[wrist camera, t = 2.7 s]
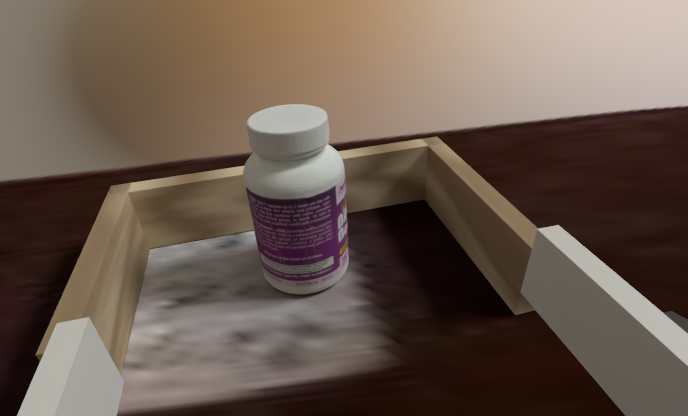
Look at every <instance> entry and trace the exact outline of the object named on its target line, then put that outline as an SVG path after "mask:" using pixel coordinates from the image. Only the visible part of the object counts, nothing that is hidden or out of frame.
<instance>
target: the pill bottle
mask: <svg viewBox="0 0 688 416" xmlns="http://www.w3.org/2000/svg"><path fill="white" fill-rule="evenodd" d="M247 129H248V135H249V142H250V146H251V148H252V149H253V151H254V153H253V154H252V155H251V156H250V157H249V159H248V160H247V162H246V164H245V167H244V171H243V179H244V184H245V189H246V194H247V198H248V203H249V207H250V212H251V217H252V222H253V226H254V231H255V236H256V241H257V246H258V250H259V255H260V260H261V265H262V271H263V274H264V277H265V278H266V280H267V281H268V282H269V283H270V284H271V285H272V286H273V287H275V288H276V289H278V290H281V291H283V292H286V293H290V294H310V293H316V292H319V291H322V290H325V289H327V288H329V287H331V286H332V285H334V284H335V283H336V282H338V281H339V280H340V279H341V277H342V276H343V275H344V273H345V271H346V269H347V267H348V260H349V257H348V231H347V209H346V188H345V170H344V164H343V160H342V158H341V156H340V154H339V153H338V152H337V151H336V150H335V149H334V148H333V147H331V146H330V145H328V141H329V136H330V134H329V125H328V117H327V113H326V112H325V111H324V110H323V109H321V108H318V107H315V106H310V105H303V104H290V105H280V106H275V107H270V108H267V109H264V110H261V111H259V112H257V113H255V114H253V115H252V116H251V117H250V118H249V119H248V121H247Z"/></svg>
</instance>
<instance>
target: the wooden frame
mask: <svg viewBox="0 0 688 416" xmlns="http://www.w3.org/2000/svg"><path fill="white" fill-rule="evenodd" d="M338 153H339V154H340V156H341V158H342V160H343V164H344V170H345V188H346V209H347V213H351V212H357V211H362V210H368V209H374V208H379V207H385V206H390V205H396V204H401V203H407V202H413V201H418V200H425V201H426V202H427V203H428V205H429V206H430V207H431V208H432V210H433V211H434V212H435V214H436V215H437V216H438V217H439V219H440V220H441V221H442V223H443V224H444V225H445V226H446V228H447V229H448V230H449V231H450V233H451V234H452V235H453V237H454V238H455V239H456V240H457V242H458V243H459V244H460V245H461V247H462V248H463V249H464V251H465V252H466V253H467V254H468V256H469V257H470V258H471V259H472V261H473V262H474V263H475V265H476V266H477V267H478V268H479V270H480V271H481V272H482V273H483V275H484V276H485V277H486V279H487V280H488V281H489V282H490V284H491V285H492V286H493V288H494V289H495V290H496V291H497V293H498V294H499V295H500V296H501V298H502V299H503V300H504V302H505V303H506V304H507V305H508V307H509V308H510V309H511V310H512V312H513V313H514V314H515V315H518V314H522V313H526V312H530V311H534V310H535V309H534V308H533V306H532V305H531V304H530V303H529V302H528V301H527V299H526V298H525V297H524V296H523V295H522V294H521V288H522V284H523V280H524V277H525V273H526V269H527V265H528V262H529V258H530V254H531V251H532V247H533V243H534V239H535V236H536V232H537V229H538V228H537V227H536V226H535V225H534V224H532V223H531V222H530V221H529V220H528V219H527V218H526V217H525V216H524V215H523V214H521V213H520V212H519V211H518V210H517V209H516V208H515V207H514V206H513V205H512V204H510V203H509V202H508V201H507V200H506V199H505V198H504V197H503V196H502V195H501V194H499V193H498V192H497V191H496V190H495V189H494V188H493V187H492V186H491V185H490V184H488V183H487V182H486V181H485V180H484V179H483V178H482V177H481V176H480V175H479V174H477V173H476V172H475V171H474V170H473V169H472V168H471V167H470V166H469V165H468V164H466V163H465V162H464V161H463V160H462V159H461V158H460V157H459V156H458V155H457V154H455V153H454V152H453V151H452V150H451V149H450V148H449V147H448V146H447V145H446V144H445V143H443V142H442V141H441V140H440V139H439V138H438V137H431V138H424V139H418V140H411V141H405V142H398V143H392V144H385V145H378V146H372V147H365V148H359V149H352V150H345V151H339V152H338ZM244 167H245V166H240V167H233V168H227V169H220V170H214V171H207V172H200V173H194V174H187V175H181V176H174V177H168V178H161V179H154V180H148V181H141V182H135V183H128V184H121V185H115V186H111V187H110V189H109V192H108V194H107V196H106V198H105V201H104V203H103V205H102V207H101V210H100V212H99V214H98V216H97V219H96V221H95V223H94V225H93V228H92V230H91V232H90V234H89V236H88V239H87V241H86V243H85V245H84V248H83V250H82V252H81V254H80V257H79V259H78V261H77V263H76V266H75V268H74V270H73V272H72V274H71V277H70V279H69V281H68V283H67V286H66V288H65V290H64V292H63V295H62V297H61V299H60V301H59V304H58V306H57V308H56V310H55V313H54V315H53V317H52V319H51V321H50V324H49V326H48V328H47V330H46V333H45V335H44V337H43V339H42V342H41V344H40V346H39V348H38V351H37V353H36V356H37V358H38V359H39V361H41V359H42V356H43V354H44V352H45V349H46V347H47V345H48V342H49V340H50V338H51V335H52V333H53V331H54V328H55V326H56V324H57V323H61V322H66V321H71V320H76V319H81V318H86V317H89V318H90V320H91V321H92V323H93V325H94V327H95V329H96V331H97V332H98V334H99V336H100V338H101V340H102V342H103V344H104V345H105V347H106V349H107V351H108V353H109V355H110V356H111V358H112V360H113V362H114V364H115V366H116V367H117V369H118V371H119V373H120V375H121V372H122V367H123V363H124V359H125V354H126V350H127V346H128V341H129V337H130V333H131V328H132V324H133V320H134V315H135V311H136V307H137V302H138V298H139V294H140V289H141V285H142V281H143V276H144V272H145V268H146V263H147V259H148V255H149V250H150V249H151V248H156V247H162V246H167V245H173V244H179V243H184V242H190V241H195V240H201V239H206V238H212V237H218V236H223V235H229V234H234V233H240V232H245V231H251V230H254V226H253V222H252V217H251V212H250V207H249V203H248V198H247V194H246V189H245V184H244V179H243V171H244Z"/></svg>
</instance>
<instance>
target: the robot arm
mask: <svg viewBox="0 0 688 416" xmlns="http://www.w3.org/2000/svg"><path fill="white" fill-rule="evenodd" d="M521 294H522V295H523V296H524V297H525V298H526V299H527V301H528V302H529V303H530V304H531V305H532V306H533V308H534V309H535V310H536V311H537V312H538V313H539V315H540V316H541V317H542V318H543V319H544V321H545V322H546V323H547V324H548V325H549V326H550V328H551V329H552V330H553V331H554V332H555V333H556V335H557V336H558V337H559V338H560V339H561V340H562V342H563V343H564V344H565V345H566V346H567V347H568V349H569V350H570V351H571V352H572V353H573V355H574V356H575V357H576V358H577V359H578V360H579V362H580V363H581V364H582V365H583V366H584V367H585V369H586V370H587V371H588V372H589V373H590V374H591V376H592V377H593V378H594V379H595V380H596V381H597V383H598V384H599V385H600V386H601V387H602V389H603V390H604V391H605V392H606V393H607V394H608V396H609V397H610V398H611V399H612V400H613V401H614V403H615V404H616V405H617V406H618V407H619V408H620V410H621V411H622V412H623V413H624V414H625V415H626V416H688V320H687V319H685V318H683V317H682V316H680V315H678V314H676V313H674V312H672V311H669V312H665V313H663V312H661V311H660V310H659V309H658V308H657V307H655V306H654V305H653V304H652V303H651V302H649V301H648V300H647V299H646V298H645V297H644V296H642V295H641V294H640V293H639V292H638V291H636V290H635V289H634V288H633V287H632V286H630V285H629V284H628V283H627V282H626V281H624V280H623V279H622V278H621V277H620V276H619V275H617V274H616V273H615V272H614V271H613V270H611V269H610V268H609V267H608V266H607V265H605V264H604V263H603V262H602V261H601V260H599V259H598V258H597V257H596V256H595V255H594V254H592V253H591V252H590V251H589V250H588V249H586V248H585V247H584V246H583V245H582V244H580V243H579V242H578V241H577V240H576V239H575V238H573V237H572V236H571V235H570V234H569V233H567V232H566V231H565V230H564V229H563V228H561V227H560V226H559V225H556V226H551V227H546V228H540V229H537V232H536V236H535V239H534V243H533V247H532V251H531V254H530V258H529V262H528V265H527V269H526V273H525V277H524V280H523V284H522V288H521ZM123 384H124V380H123V378H122V377H121V375H120V373H119V371H118V369H117V367H116V366H115V364H114V362H113V360H112V358H111V356H110V355H109V353H108V351H107V349H106V347H105V345H104V344H103V342H102V340H101V338H100V336H99V334H98V332H97V331H96V329H95V327H94V325H93V323H92V321H91V320H90V318H89V317H86V318H81V319H76V320H71V321H66V322H61V323H57V324H56V326H55V328H54V331H53V333H52V335H51V338H50V340H49V342H48V345H47V347H46V349H45V352H44V354H43V356H42V359H41V361H40V363H39V366H38V368H37V370H36V372H35V375H34V377H33V379H32V382H31V384H30V386H29V389H28V391H27V393H26V396H25V398H24V400H23V403H22V405H21V407H20V410H19V412H18V414H17V416H117V411H118V407H119V402H120V398H121V393H122V389H123Z"/></svg>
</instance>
